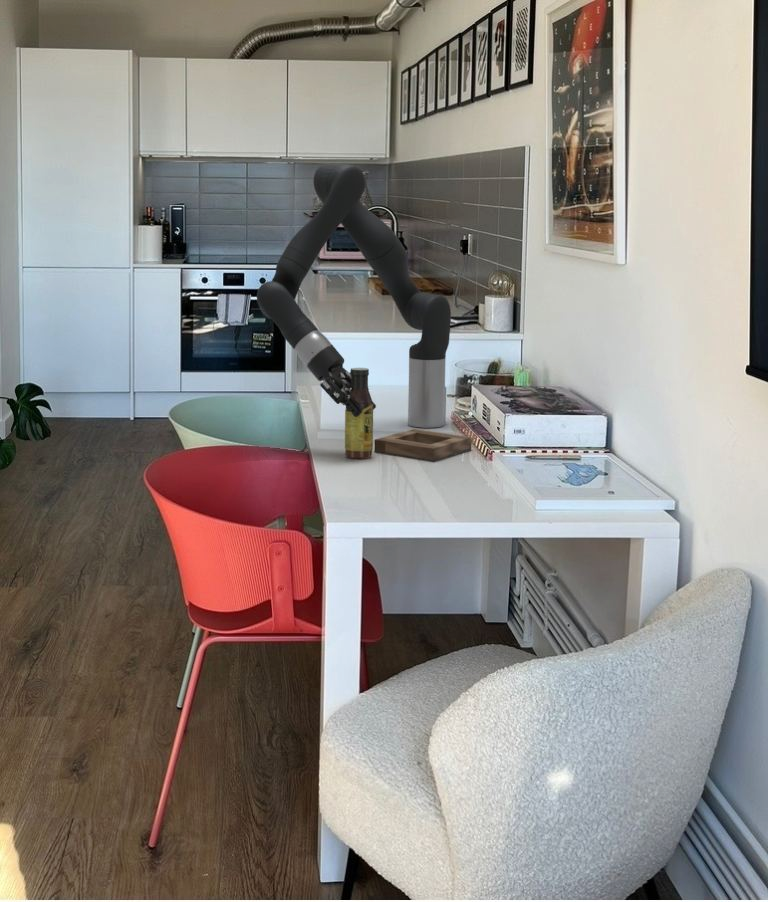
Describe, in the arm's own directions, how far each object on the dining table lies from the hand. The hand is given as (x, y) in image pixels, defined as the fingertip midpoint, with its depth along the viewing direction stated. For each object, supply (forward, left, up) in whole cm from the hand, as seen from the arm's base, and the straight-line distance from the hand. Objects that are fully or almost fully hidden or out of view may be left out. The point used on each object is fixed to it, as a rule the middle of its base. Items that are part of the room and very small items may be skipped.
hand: (366, 411), depth 267 cm
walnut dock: (-14, +6, -10) cm, 18 cm away
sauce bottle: (0, -2, -11) cm, 11 cm away
